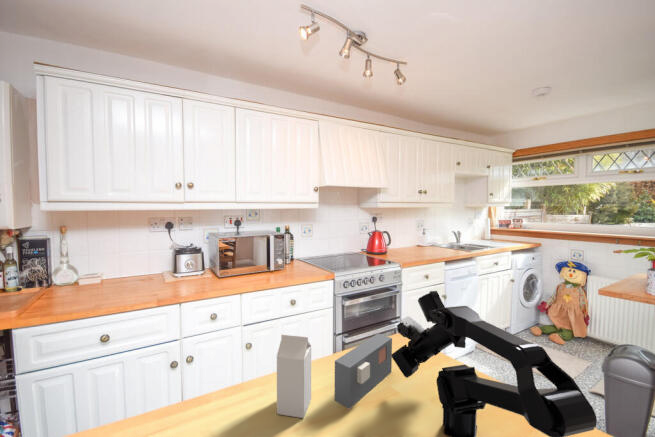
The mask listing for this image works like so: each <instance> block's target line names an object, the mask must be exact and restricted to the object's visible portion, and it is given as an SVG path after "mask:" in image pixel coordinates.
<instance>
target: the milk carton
mask: <svg viewBox="0 0 655 437" xmlns="http://www.w3.org/2000/svg"><path fill="white" fill-rule="evenodd" d="M280 338H281V339H280V343H279V346H278V350H277V353H276V414H277V415H282V416H288V417H295V418H300V419H304V418H305V416H306V414H307V411H308V408H309V405H310V403H311V402H312V401H311V400H312V345H311V343H310V342H309V337H308V336H301V335H291V334H281V336H280Z"/></svg>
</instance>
